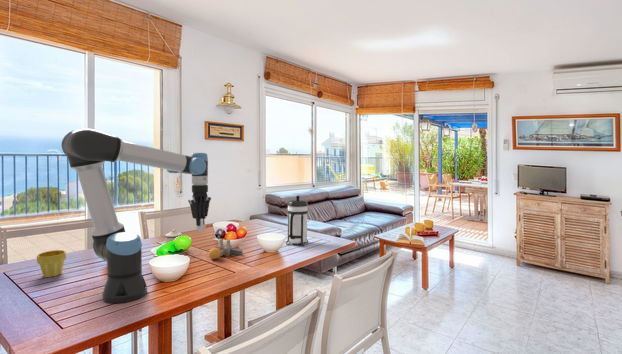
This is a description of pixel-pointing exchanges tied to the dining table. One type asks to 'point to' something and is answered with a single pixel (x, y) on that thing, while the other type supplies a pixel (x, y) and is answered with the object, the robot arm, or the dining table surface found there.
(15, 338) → the dining table surface
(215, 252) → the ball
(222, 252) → the front pin
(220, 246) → the back pin left
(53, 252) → the plant pot
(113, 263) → the robot arm
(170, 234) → the teacup with lid
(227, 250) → the back pin right
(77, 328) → the dining table surface
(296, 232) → the coffee press
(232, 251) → the back wall
